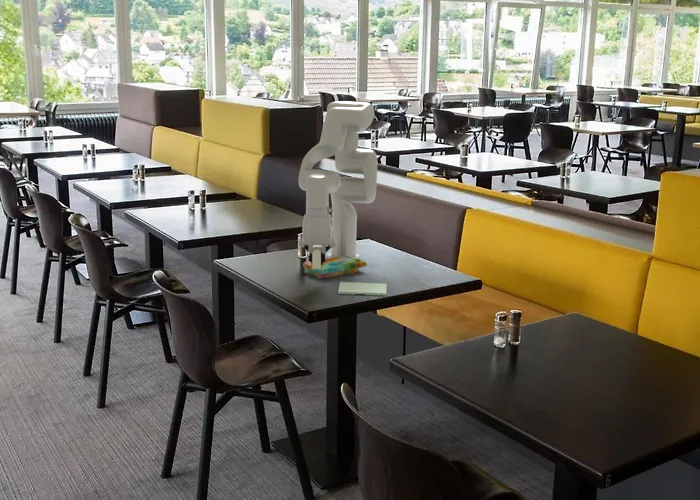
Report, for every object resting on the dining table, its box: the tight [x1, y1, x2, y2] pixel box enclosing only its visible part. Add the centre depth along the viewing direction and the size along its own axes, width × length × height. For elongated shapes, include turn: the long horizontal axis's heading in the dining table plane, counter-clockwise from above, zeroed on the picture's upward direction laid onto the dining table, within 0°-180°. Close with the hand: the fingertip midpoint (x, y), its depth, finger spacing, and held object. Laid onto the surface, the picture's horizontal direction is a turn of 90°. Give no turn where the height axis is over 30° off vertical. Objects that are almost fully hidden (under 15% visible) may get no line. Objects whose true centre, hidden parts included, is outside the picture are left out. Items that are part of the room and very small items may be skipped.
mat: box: [337, 281, 388, 297], centre depth 267 cm, size 11×16×1 cm
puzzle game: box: [302, 255, 367, 279], centre depth 287 cm, size 12×5×20 cm
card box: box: [312, 245, 322, 269], centre depth 268 cm, size 9×3×6 cm, turn 177°
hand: (317, 263), depth 269 cm, fingers closed on card box, 2 cm apart
